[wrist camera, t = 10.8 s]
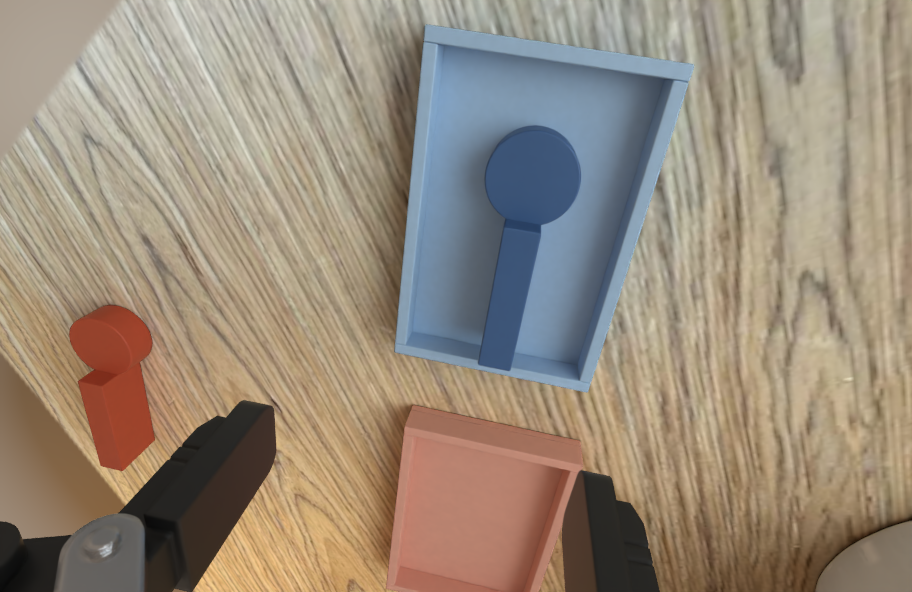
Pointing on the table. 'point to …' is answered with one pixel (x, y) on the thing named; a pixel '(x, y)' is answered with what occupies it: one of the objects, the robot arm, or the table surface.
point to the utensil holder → (873, 564)
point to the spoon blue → (523, 225)
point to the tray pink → (477, 504)
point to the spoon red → (114, 382)
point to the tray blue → (562, 241)
